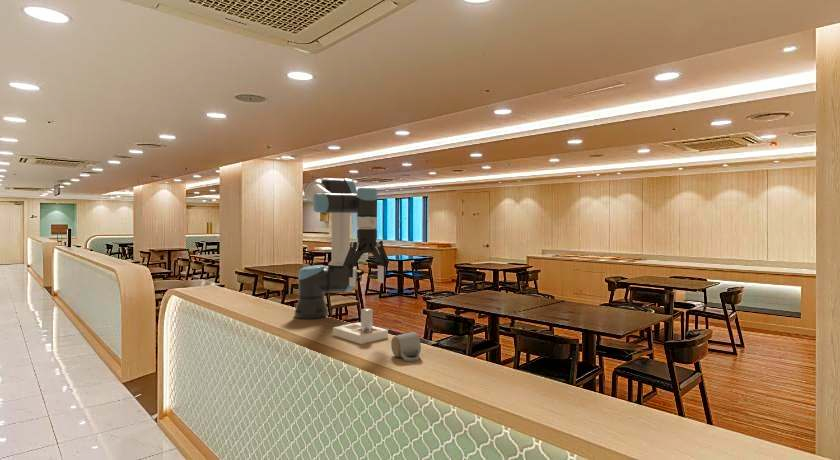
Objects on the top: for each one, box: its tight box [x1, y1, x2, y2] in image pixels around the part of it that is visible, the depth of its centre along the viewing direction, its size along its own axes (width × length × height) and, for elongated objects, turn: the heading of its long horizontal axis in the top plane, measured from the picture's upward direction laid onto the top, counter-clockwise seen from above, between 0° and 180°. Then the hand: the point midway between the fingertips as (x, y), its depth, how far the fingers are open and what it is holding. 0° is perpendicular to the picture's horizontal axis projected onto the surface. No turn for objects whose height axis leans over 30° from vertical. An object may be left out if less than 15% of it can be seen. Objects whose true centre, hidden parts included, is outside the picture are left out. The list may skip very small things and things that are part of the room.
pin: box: [360, 308, 374, 333], centre depth 176 cm, size 4×4×11 cm
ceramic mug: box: [390, 331, 422, 363], centre depth 152 cm, size 11×8×8 cm
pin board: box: [332, 321, 389, 345], centre depth 179 cm, size 18×13×3 cm
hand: (366, 284), depth 176 cm, fingers open, 13 cm apart
